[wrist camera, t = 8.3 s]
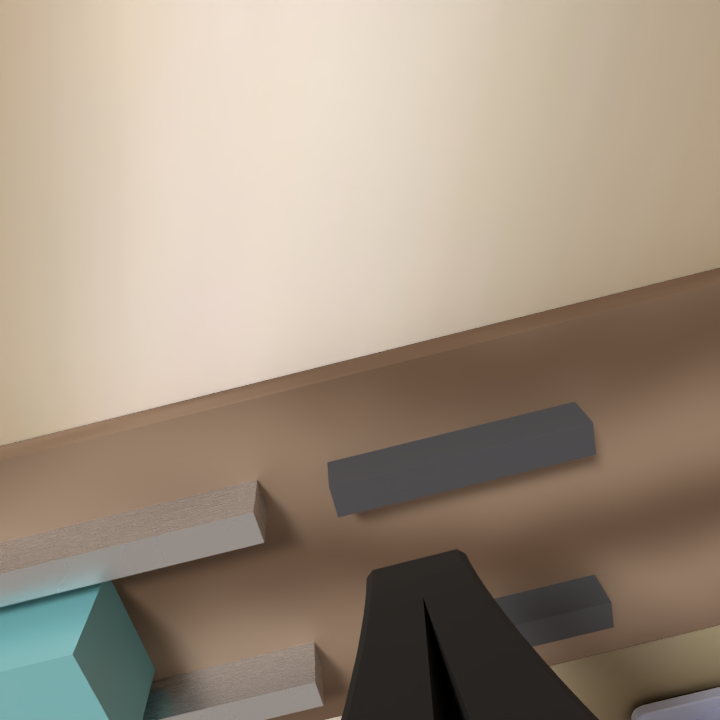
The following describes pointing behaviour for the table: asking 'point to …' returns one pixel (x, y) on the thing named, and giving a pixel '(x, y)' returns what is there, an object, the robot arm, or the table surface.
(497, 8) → the table surface
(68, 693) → the plug
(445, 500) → the base board
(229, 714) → the grey slab
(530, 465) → the grey blocks
